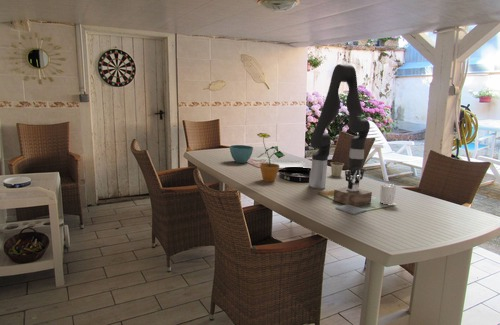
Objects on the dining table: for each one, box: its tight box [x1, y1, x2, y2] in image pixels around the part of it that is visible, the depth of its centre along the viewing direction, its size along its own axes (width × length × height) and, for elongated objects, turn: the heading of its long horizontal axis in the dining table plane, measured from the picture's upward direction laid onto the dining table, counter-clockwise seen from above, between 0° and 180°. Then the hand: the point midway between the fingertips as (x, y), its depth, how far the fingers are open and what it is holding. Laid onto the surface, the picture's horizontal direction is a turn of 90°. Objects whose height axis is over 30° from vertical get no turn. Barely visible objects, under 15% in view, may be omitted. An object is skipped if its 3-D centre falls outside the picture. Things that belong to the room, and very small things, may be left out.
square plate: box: [267, 159, 309, 172], centre depth 285 cm, size 27×27×4 cm
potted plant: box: [256, 132, 286, 183], centre depth 242 cm, size 18×19×30 cm
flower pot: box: [330, 161, 345, 177], centre depth 266 cm, size 9×9×9 cm
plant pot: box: [229, 144, 254, 164], centre depth 299 cm, size 18×18×12 cm
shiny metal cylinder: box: [348, 181, 360, 193], centre depth 204 cm, size 5×5×8 cm
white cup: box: [379, 183, 397, 205], centre depth 204 cm, size 8×8×10 cm
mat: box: [335, 204, 367, 216], centre depth 190 cm, size 11×10×1 cm
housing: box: [332, 186, 373, 207], centre depth 205 cm, size 14×14×6 cm
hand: (353, 188), depth 204 cm, fingers closed on shiny metal cylinder, 5 cm apart
